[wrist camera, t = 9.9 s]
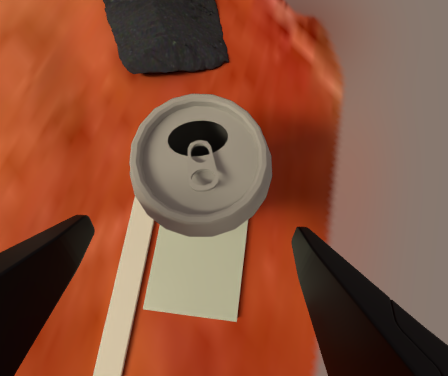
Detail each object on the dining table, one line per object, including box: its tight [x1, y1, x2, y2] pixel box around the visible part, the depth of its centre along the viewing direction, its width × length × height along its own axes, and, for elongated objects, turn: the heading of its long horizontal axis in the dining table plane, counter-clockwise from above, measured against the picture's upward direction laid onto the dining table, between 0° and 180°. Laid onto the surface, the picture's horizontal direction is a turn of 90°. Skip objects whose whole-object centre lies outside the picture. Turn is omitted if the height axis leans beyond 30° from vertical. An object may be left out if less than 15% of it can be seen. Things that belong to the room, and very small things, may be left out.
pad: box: [143, 220, 248, 322], centre depth 19 cm, size 16×9×1 cm, turn 172°
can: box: [130, 94, 272, 237], centre depth 14 cm, size 8×8×12 cm
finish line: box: [93, 197, 154, 376], centre depth 19 cm, size 22×2×1 cm, turn 172°
